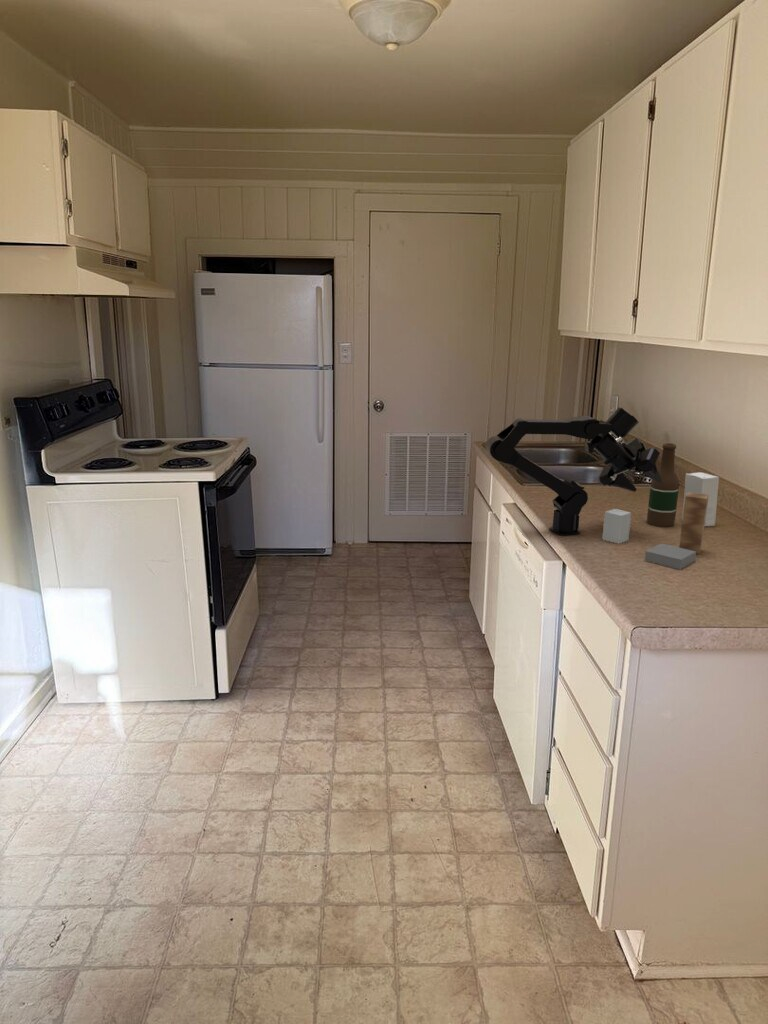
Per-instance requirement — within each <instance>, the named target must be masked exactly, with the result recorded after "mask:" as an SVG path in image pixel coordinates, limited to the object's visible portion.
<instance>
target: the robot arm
mask: <svg viewBox="0 0 768 1024" xmlns="http://www.w3.org/2000/svg"><path fill="white" fill-rule="evenodd" d="M638 424H639V421H638V419H637V418H635V416H633V415H631V414H630V412H627V411H626V409H624V408H623V407H620V406H618V408H616V409H615V411H614V413H613V414H612V415H611V416H610V417H609V418H608V419H607V420H606V421H605V420H602V419H596V418H593V417H591V416H589V415H581V416H574V417H570V418H566V419H533V418H532V419H529V418H528V419H526V418H516V419H515V420H514V421H513V422H512V423H511V424H510V425H508V426H506V427H505V428H504V429H502V430H501V431H500V432H498V434H496V435H495V436H491V437H490V438H489V439H487V441H486V443H485V451H486V453H487V454H488V455H490V456H491V458H493V460H495V461H498V462H501V463H503V464H506V465H509V466H513V467H514V468H516V469H518V470H520V471H521V472H522V473H524V474H526V475H528V476H529V477H531V478H532V479H534V480H536V481H538V482H539V483H541V484H542V485H544V486H546V487H547V488H549V489H550V490H552V491H553V492H554V493H555V494H556V497H555V498H553V499H552V505H553V507H554V508H556V509H554V510H553V516H552V517H553V518H552V527H549V531H551V530H552V532H554V533H555V532H556V534H557V533H558V535H559V534H560V536H567V535H577V534H581V530H579V528H580V527H579V526H580V514H581V511H582V508H583V507H584V506H585V505H586V504H587V502H588V500H589V497H588V495H589V494H588V493H587V492H586V490H585V486H583V485H582V484H580V483H579V482H577V481H574V480H573V479H572V478H570V477H569V476H567V475H566V476H565V478H563V479H561V478H559V477H557V476H556V475H554V474H552V472H549V471H548V470H546V469H544V468H543V467H541V466H539V465H538V464H537V463H535V462H533V461H532V460H530V459H528V458H527V457H526V456H524V455H522V454H521V452H519V451H518V450H517V449H516V448H515V447H516V446H517V445H518V444H519V443H520V441H521V440H522V439H523V438H524V436H526V435H566V436H571V437H575V438H580V439H585V440H588V441H585V442H584V444H585V446H584V451H586V452H588V453H591V452H593V450H595V451H596V452H597V454H599V455H600V456H601V457H602V458H603V459H604V461H603V463H604V465H605V466H604V467H603V468H602V471H601V472H600V474H599V476H598V479H599V480H598V481H599V482H600V483H601V484H602V485H603V487H604V486H608V487H611V486H612V487H615V488H620V489H623V490H627V491H631V492H634V493H635V492H637V487H636V486H635V485H634V484H633V483H632V482H631V480H629V478H628V477H626V476H625V472H628V471H629V470H632V469H634V468H637V469H639V470H640V471H642V474H644V475H645V476H646V477H649V479H651V480H652V479H653V480H655V481H656V482H658V483H661V481H662V479H661V477H660V474H659V472H658V471H659V469H658V468H657V465H656V464H657V462H658V461H657V460H658V458H659V456H660V454H661V452H659V450H658V449H657V448H655V447H650V448H647V449H646V450H642V451H641V452H640V455H639V457H638V458H635V457H637V454H638V453H637V451H639V450H640V449H642V448H643V446H642V444H641V443H640V441H639V439H638V437H634V438H632V439H630V440H626V441H625V442H620V441H618V440H617V439H619V438H621V439H624V438H625V437H626V436H627V435H628V434H629V433H630V432H631V431H632V430H633V429H634V428H635V427H636V426H637V425H638ZM612 435H613V436H612ZM614 437H615V438H614Z"/></svg>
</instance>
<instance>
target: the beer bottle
mask: <svg viewBox="0 0 768 1024" xmlns="http://www.w3.org/2000/svg"><path fill="white" fill-rule="evenodd" d="M661 448H662V451H661V452H662V453H661V458H660V465H659V468H658V472H659V474H660V477H661V479H662V481H661V483H658V482H656V481H655V480H653V479H651V483H650V487H649V497H648V506H647V513H646V515H647V516H646V522H647V523H648V524H649V525H650V526H654V527H658V528H665V527H666V528H670V527H673V526H674V524H675V522H676V514H677V507H678V497H679V491H680V482H679V478H678V475H677V474H676V472H675V456H676V455H675V453H676V452H675V451H676V449H677V445H676V444H674V443H669V442H668V443H663V445H662V446H661Z"/></svg>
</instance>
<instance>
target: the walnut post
mask: <svg viewBox="0 0 768 1024" xmlns="http://www.w3.org/2000/svg"><path fill="white" fill-rule="evenodd" d="M708 496H709V495H708V494H699V493H690V492H688V493H687V495H686V497H685V505H684V513H683V512H682V515H683V520H681V521H682V522H681V523H682V524H681V530H680V540H679V546H678V547H679V548H683V549H687V550H692V551H696V555H700V554H701V552H702V548H703V540H704V532H705V527H706V526H705V519H706V511H707V504H708Z"/></svg>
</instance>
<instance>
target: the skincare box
mask: <svg viewBox="0 0 768 1024" xmlns="http://www.w3.org/2000/svg"><path fill="white" fill-rule="evenodd" d="M719 481H720V476H716V475H713V474H710V473H706V472H702V471H701V472H689V473H688V472H687V473H685V480H684V489H683V490H684V494H683V505H682V514H681V515H682V516H681V517H682V518H681V521H683V513H684V505H685V497H686V495H687V493H688V492H690V493H699V494H708V495H709V496H708V504H707V511H706V519H705V526H704V527H715V526H716V517H717V507H718V506H717V505H718V504H717V503H718V494H719V493H718V492H719Z"/></svg>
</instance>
